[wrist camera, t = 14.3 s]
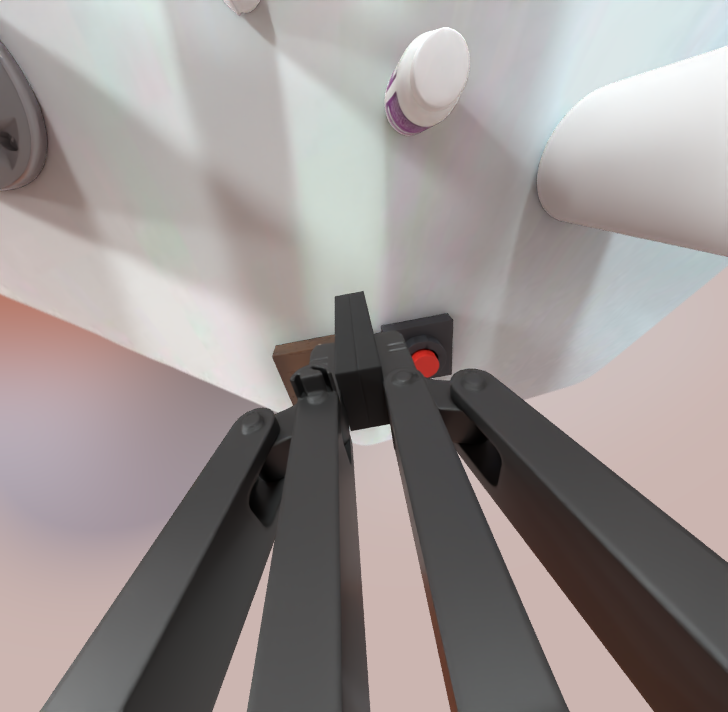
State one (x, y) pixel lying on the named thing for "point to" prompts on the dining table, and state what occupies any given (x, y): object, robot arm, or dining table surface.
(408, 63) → the pill bottle
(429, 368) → the button
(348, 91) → the dining table surface
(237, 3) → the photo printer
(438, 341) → the button box
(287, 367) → the panel
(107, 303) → the dining table surface
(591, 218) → the cylinder vase
